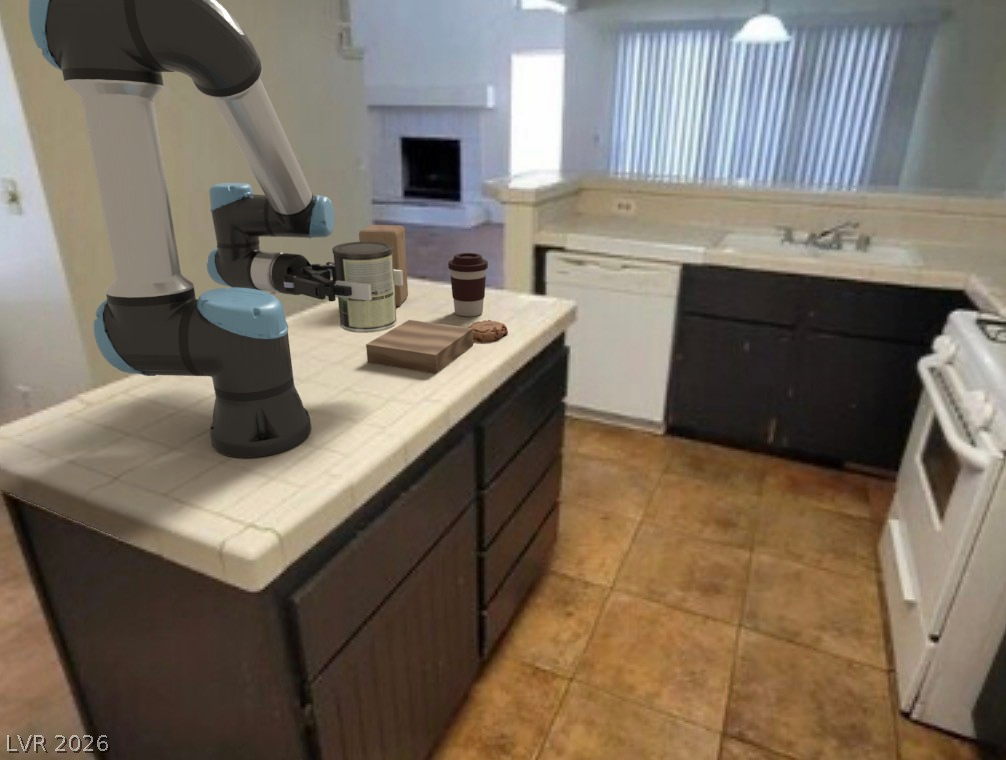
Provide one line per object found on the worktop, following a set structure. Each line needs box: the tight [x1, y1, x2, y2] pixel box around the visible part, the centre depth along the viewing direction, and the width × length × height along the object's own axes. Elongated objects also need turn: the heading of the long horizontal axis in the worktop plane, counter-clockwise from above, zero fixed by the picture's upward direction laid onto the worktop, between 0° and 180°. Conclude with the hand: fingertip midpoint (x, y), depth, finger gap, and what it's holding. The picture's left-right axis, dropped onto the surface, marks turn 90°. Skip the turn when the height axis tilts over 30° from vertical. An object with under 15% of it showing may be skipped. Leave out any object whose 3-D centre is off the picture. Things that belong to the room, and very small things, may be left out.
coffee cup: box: [447, 252, 489, 318], centre depth 163 cm, size 10×10×15 cm
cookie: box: [467, 319, 509, 343], centre depth 150 cm, size 10×11×3 cm
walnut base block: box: [365, 319, 474, 374], centre depth 138 cm, size 18×16×4 cm
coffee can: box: [332, 241, 398, 334], centre depth 114 cm, size 10×10×14 cm
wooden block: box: [358, 224, 409, 307], centre depth 171 cm, size 10×10×20 cm
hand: (386, 284), depth 113 cm, fingers closed on coffee can, 10 cm apart
